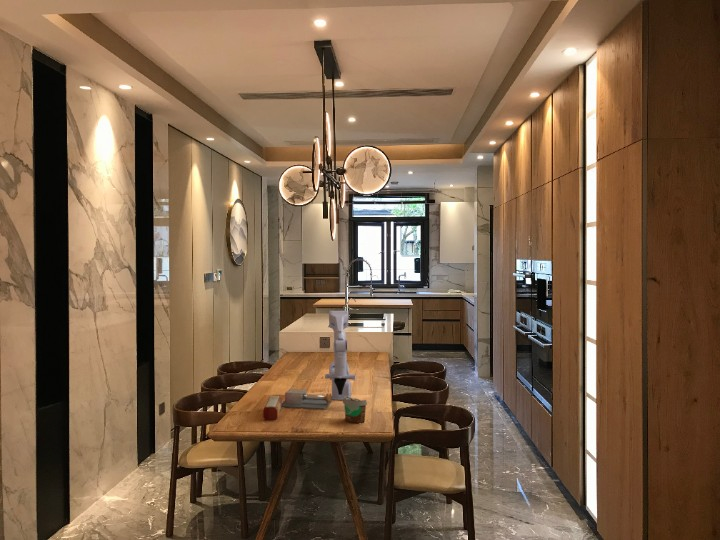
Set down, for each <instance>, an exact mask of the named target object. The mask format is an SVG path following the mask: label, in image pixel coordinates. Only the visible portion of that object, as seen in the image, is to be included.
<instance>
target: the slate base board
mask: <svg viewBox="0 0 720 540" xmlns="http://www.w3.org/2000/svg"><path fill="white" fill-rule="evenodd" d="M332 401H333V400H332V399H331V403H332ZM331 403H326V401H324V400H306V401H305V402H304V403H303V404H302V405H289V404H285V400H284V401H282V407H285V408H284V409H299V408H303V409H304V410H305V409H306V410H318V409H321V410H322V411H323V410H326V409H327V408H328V407H329V405H331ZM327 406H328V407H327ZM326 407H327V408H326ZM303 409H302V410H303ZM321 410H320V411H321Z"/></svg>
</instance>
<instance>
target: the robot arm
mask: <svg viewBox="0 0 720 540" xmlns="http://www.w3.org/2000/svg"><path fill="white" fill-rule="evenodd" d="M328 323H329V324H328V325H329V328H330V329H332V330H333V357H334V360H333V361H332V362H331V363H329V370H328V371H329V372H328V373H325V374H324V378H325V379H326V380H327V379H329V380H330V381H331V400H332V401H333V400H335V401H336V400H337V401H338V400H339V401H343V399H344V397H345V396H347V395H348V397H349V398H352V382H351V380H352V381H355V380H357V375H356V374H350V367H349V363H348V362H347V361H348V360H347V356H348V355H347V352H348V348H349V347H348V346H349V345H348V339H347V333H346V331H345V329H347V328H348V326H349V311H348V310H329V312H328Z"/></svg>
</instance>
